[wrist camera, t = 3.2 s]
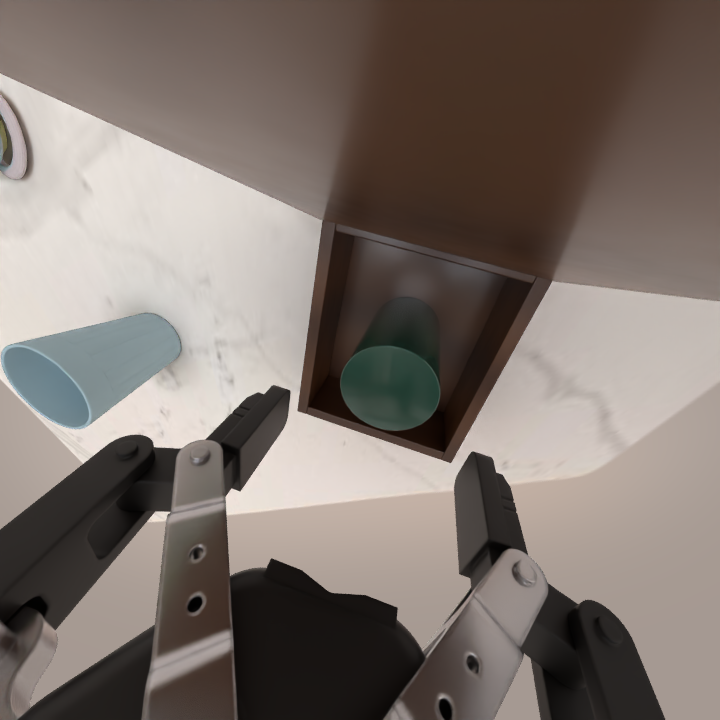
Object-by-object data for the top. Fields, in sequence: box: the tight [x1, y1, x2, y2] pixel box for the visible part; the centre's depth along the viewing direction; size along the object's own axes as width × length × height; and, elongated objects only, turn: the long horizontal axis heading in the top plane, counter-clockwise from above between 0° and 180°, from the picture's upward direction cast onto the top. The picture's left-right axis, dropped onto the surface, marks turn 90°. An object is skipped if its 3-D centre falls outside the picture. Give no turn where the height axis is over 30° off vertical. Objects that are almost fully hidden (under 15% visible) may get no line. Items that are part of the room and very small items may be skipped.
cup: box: [1, 313, 181, 429], centre depth 27 cm, size 8×8×10 cm
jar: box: [340, 297, 440, 431], centre depth 19 cm, size 5×5×9 cm
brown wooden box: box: [298, 220, 552, 463], centre depth 21 cm, size 15×13×6 cm
